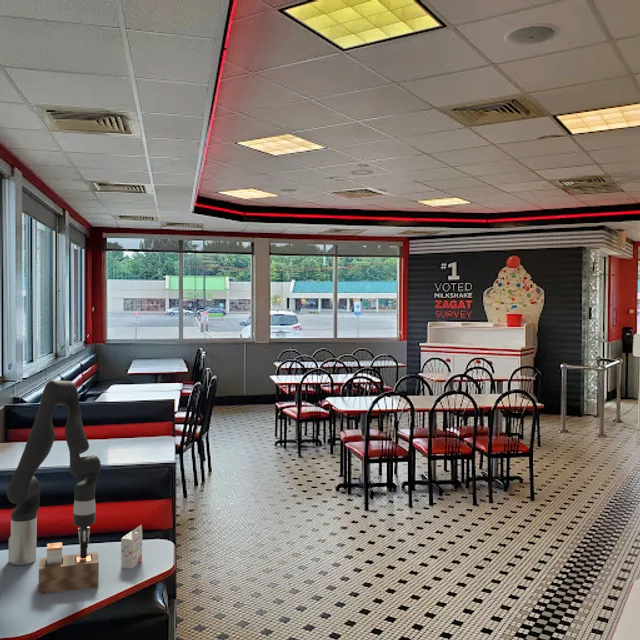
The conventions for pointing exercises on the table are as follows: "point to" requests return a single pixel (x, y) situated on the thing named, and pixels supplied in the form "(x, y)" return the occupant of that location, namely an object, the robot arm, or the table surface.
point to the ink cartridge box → (131, 548)
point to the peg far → (83, 559)
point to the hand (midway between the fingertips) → (83, 557)
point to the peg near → (54, 554)
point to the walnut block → (68, 574)
